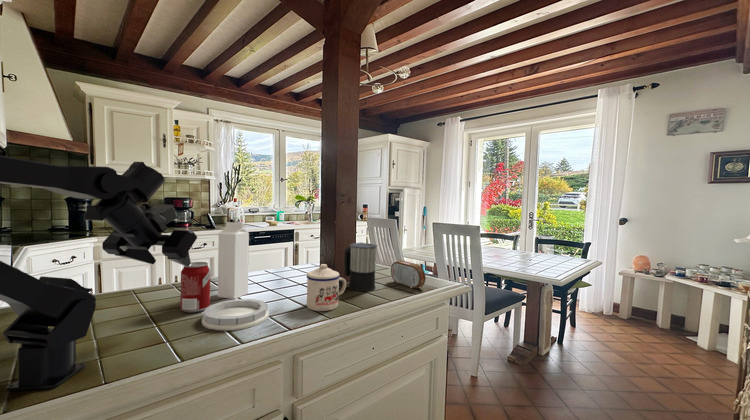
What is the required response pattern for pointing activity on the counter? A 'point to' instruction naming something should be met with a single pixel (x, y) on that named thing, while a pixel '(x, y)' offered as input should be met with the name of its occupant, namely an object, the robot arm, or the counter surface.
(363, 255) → the milk frother
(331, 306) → the teacup with lid
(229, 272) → the milk
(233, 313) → the ring tray
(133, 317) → the counter surface
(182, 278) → the soda can
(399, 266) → the tin
